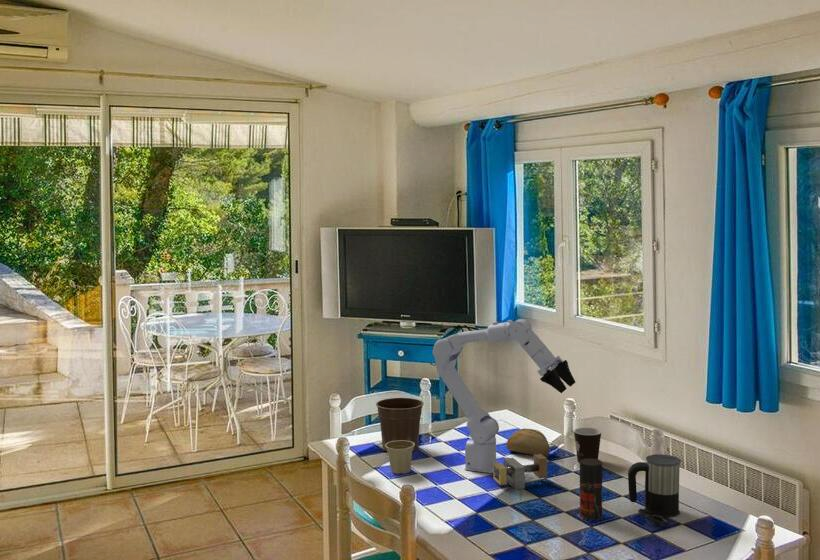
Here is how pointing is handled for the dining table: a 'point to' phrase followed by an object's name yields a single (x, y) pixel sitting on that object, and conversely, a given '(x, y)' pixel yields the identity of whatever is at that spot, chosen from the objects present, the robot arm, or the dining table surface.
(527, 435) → the bread roll
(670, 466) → the milk frother
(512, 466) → the bearing
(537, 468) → the shaft
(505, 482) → the frame
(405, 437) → the plant pot
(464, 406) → the robot arm
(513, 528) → the dining table surface
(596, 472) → the deodorant
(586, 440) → the coffee mug
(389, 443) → the flower pot
